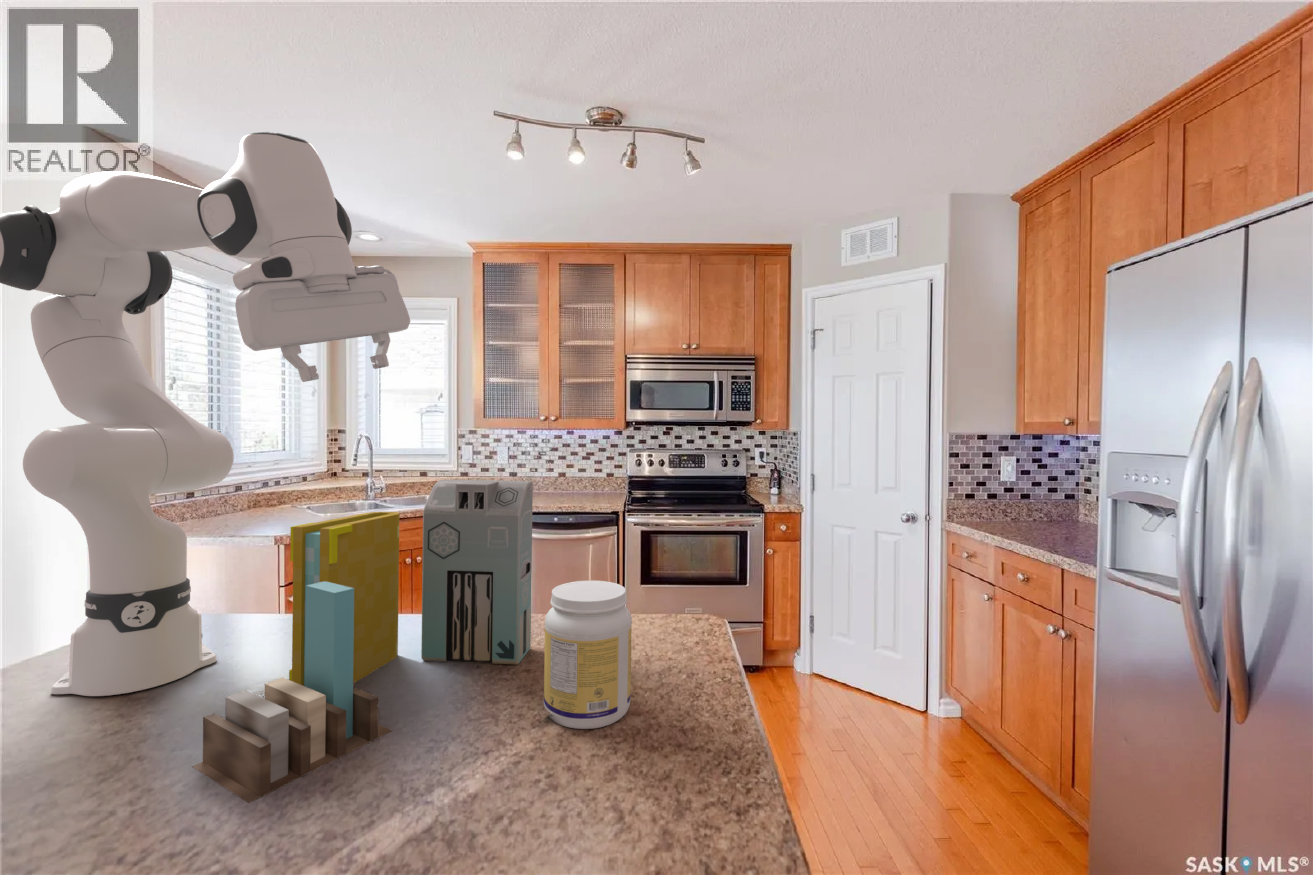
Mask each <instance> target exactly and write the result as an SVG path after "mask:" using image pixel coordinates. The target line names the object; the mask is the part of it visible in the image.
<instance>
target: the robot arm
mask: <svg viewBox="0 0 1313 875" xmlns="http://www.w3.org/2000/svg"><path fill="white" fill-rule="evenodd" d="M239 142H240V143H239V153H238V157H237V159H236V162H235V163H234V165H233V166H232V167H231V168H230V169H229V171H228V172H227V173H226V174H225V175H224V176H223V177H222V178H221V179H217V180H214V181H212V182H211V183H209V184H208V185H207V186H206V187H205V188H204V189H202V188H199V187H195V186H191V185H187V184H184V183H180V182H176V181H172V180H170V179H166V178H162V177H159V176H154V175H150V174H146V173H139V172H134V171H121V170H119V171H117V170H116V171H114V170H113V171H112V170H111V171H110V170H109V171H101V172H93V173H90V174H85V175H83V176H80V177H77V178H75V179H73V180H71V181H70V182H69V183H67V184H66V185H65V186H64V187H63V189H62V190H61V193H60V197H59V206H58V208H57V209H56V210H54V211H50V212H47V211H42V210H41V209H40V208H39V207H37V206H35V205H25V207H23V208H22V210H20V211H13V212H11V211H10V212H6V213H5V212H3V213H1V214H0V284H3V285H5V286H9V287H11V288H12V287H13V288H15V289H18V290H19V289H20V290H22V291H23V290H24V291H27V292H28V291H33V290H34V291H38V292H43V293H48V294H52V295H49V296H46V297H44V298H42V299H41V300H40V301H38V302H37V303H36V304H35V305H34V307H32V309H31V311H30V325H31V331H32V336H33V340H34V344H35V348H36V350H37V354H38V356H39V358H40V361H41V363H42V365H43V367H44V369H45V372H46V374H47V376H48V378H49V380H50V383H51V385H52V387H53V390H54V391H55V393H56V395H57V397H58V400H59V402H60V403H61V405H62V406H63V407H64V409H65V410H67V411H68V412H69V413H70V414H72V415H73V416H76V417H77V418H79V419H82V420H84V421H86V422H88V423H82V424H74V425H68V426H67V425H66V426H62V427H56V428H49V429H46V430H43V431H41V432H40V433H38V435H36V436H35V437H34V438H33V439H32V440H31V441H30V443H29V444H28V446H27V447H26V449H25V452H24V453H23V454H24V455H23V458H22V471H23V473H24V475H25V478H26V480H27V481H28V483H29V484H30V486H32V487H33V488H34V490H36V491H37V492H38V493H39V494H41V495H42V496H45V497H47V498H48V499H51V500H53V501H55V502H57V503H58V504H60V505H61V506H62V507H64V508H65V509H67V510H68V512H70V513H71V515H73V517H74V518H75V519H76V520H77V522H78V524H79V526H80V527H81V528H82V531H83V532H84V536H85V538H86V543H87V549H88V559H89V560H88V562H89V563H88V564H89V589H88V590H87V591H86V593H85V600H84V605H83V606H84V608H85V614H84V615H85V617H87V618H86V619H85V621H84V622H83V623H82V624H81V625H80V626H78V627H77V628H76V629H75V631H73V632H71V636H70V644H69V646H70V647H69V662H68V663H69V665H68V666H69V668H68V671H67V672H66V673H64V674H63V676H61V677H60V678H59V679H58V680H56V682H55V683H53V684H52V686H51V688H50V694H51V695H69V694H70V695H71V694H72V695H79V696H84V697H85V696H86V697H105V696H113V695H121V694H123V695H124V694H129V693H133V692H138V691H144V690H147V689H151V688H155V687H158V686H161V685H165V684H168V683H171V682H174V681H176V680H178V679H181V678H183V677H185V676H188V675H189V674H191V673H193V672H194V671H197V670H198V669H200V668H203V667H206V666H209V665H212V664H213V663H216V662H217V661H218V660H217V654H216V653H215V652H213V651H212V649H210V648H209V647H208V646H206V645H205V644H204V643H203V632H202V631H203V630H202V625H203V624H202V614H201V613H200V612H198V610H197V609H195V608H193V607H192V606H191V605H190V604H189V602H190V601H191V592H192V588H191V584H190V583H191V582H190V578H188V577H187V571H188V570H187V562H188V560H187V558H188V553H187V552H188V537H187V535H186V532H185V531H184V529H182V527H181V526H180V525H178V524H177V523H175V522H173V521H171V520H168V519H165V518H163V517H160V516H157V514H156V513H155V512H154V510H153V508H152V506H151V505H152V504H151V502H150V495H159V494H169V493H181V492H190V491H194V490H198V489H202V488H206V487H208V486H213V485H215V484H218V483H220V482H222V481H223V480H224V479H226V477H228V476H229V473H230V472H231V470H232V467H233V464H234V457H235V456H234V449H233V446H232V444H231V442H230V441H229V439H228V438H227V437H226V436H225V434H223V433H222V432H220V431H218V430H216V429H213V428H212V427H209V426H206V425H204V423H203V424H202V423H201V422H199V421H198V420H196V419H194V418H193V417H191V416H190V415H189V414H187V413H186V412H185V411H184V410H183V409H181V408H180V407H178V405H176V404H175V403H174V402H173V401H172V400H170V398H169V397H167V396H166V395H165V394H164V392H162V390H161V389H160V388H159V387H158V385H157V384H156V383H155V382H154V380H153V377H151V375H150V373H149V371H148V369H147V368H146V366H145V364H144V362H143V360H142V358H141V356H140V355H139V353H138V351H137V349H136V347H135V345H134V342H132V340H131V338H130V336H129V334H128V332H127V331H126V328H125V326H124V324H123V315H124V312H125V313H127V314H130V315H139V314H143V313H144V312H145V311H146V310H147V307H150V306H153V305H155V304H157V302H159V301H160V300H161V299H162V298H163V297H165V295H167V294H168V292H169V291H170V289H171V286H172V281H173V268H172V264H171V262H170V260H169V258H168V257H167V255H166V253H165V252H172V251H179V250H180V251H181V250H187V249H195V248H203V247H211V246H214V247H216V248H217V249H218V250H220V251H221V252H223V253H224V254H225V255H228V256H234V257H238V258H246V259H259V260H255V261H254V262H251V263H249V264H247V265H245V266H243V267H241V268H240V269H238V270H237V271H236V272H235V273H234V274H233V275H232V280H233V284H234V286H235V287H236V289H237V290H238V291H241V292H240V293H239V294H237V296H236V298H235V302H234V304H235V313H236V318H237V323H238V328H239V333H240V335H241V339H242V341H243V343H244V345H245V346H247V347H248V348H249V349H250V350H252V351H254V352H258V351H265V350H274V349H280V350H281V353H282V356H283V358H284V359H286V361H287V362H288V363H289V364H291V365H292V366H293V367H294V368H295V369H297V371H298V373H299V378H300V380H301V382H303V383H306V382H311V381H316V380H319V379H320V375H319V373H318V372H317V371H318V368H317V366H316V365H309V364H308V363H306V361H304V359H303V358H301V357H300V356H299V354H302V349H301V346H304V345H311V344H319V343H326V342H327V343H328V342H332V341H339V340H340V341H341V340H347V339H355V338H361V337H371V339H372V343H373V344H377V346H376V350H375V353H374V354H375V355H372V356H370V357H369V359H370V361H371V363H372V364H371V365H372V368H373V369H375V370H378V369H382V368H387V367H389V365H390V363H389V360H388V356H387V353H388V350H389V346H390V343H391V337H390V334H392V333H393V334H394V333H399V332H403V331H405V330H407V329H409V326H410V324H411V318H410V314H409V311H408V309H407V306H406V303H405V301H404V298H403V296H402V294H401V291H400V288H399V284H398V280H397V277H396V276H395V274H394V273H392V271H390V270H388V269H386V268H384V266H383V265H373V266H355V264H354V261H353V258H352V254H351V251H350V246H349V245H350V242H351V241H352V240H351V239H352V233H353V229H352V227H353V226H352V224H351V223H352V222H351V220H350V217H349V214H348V213H347V211H346V209H345V208H344V207H343V205H342V204H341V203H340V201H339V200H338V199H337V198H336V197H335V194H334V191H333V189H332V188H333V187H332V186H331V182H330V179H329V176H328V173H327V171H326V169H325V166H324V164H323V162H322V160H321V157H320V155H319V154H318V152H317V150H316V149H315V147H314V146H313V145H312V144H311V142H308V141H307V140H305V139H304V138H301V137H298V136H293V135H289V134H285V133H280V132H269V131H257V132H251V133H248V134H247V135H246V134H245V135H244V136H243V137H242V138H241V140H240V141H239Z"/></svg>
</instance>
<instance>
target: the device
mask: <svg viewBox="0 0 1313 875" xmlns="http://www.w3.org/2000/svg"><path fill="white" fill-rule="evenodd" d="M533 483H534V482H533V481H531V480H491V479H487V480H485V479H484V480H483V479H447V478H446V479H438V480H437V481H436V482H435V483H434V485H433V486H432V488H431V491H430V493H429V495H428V498H427V500H426V503H425V505H424V507H423V510H422V511H423V512H422V571H421V572H422V575H421V576H422V577H421V579H422V580H421V581H422V583H421V585H422V586H421V587H422V588H421V650H420V651H421V652H420V653H421V660H422V661H425V662H446V663H449V662H453V663H473V664H474V663H475V664H494V665H495V664H496V665H497V664H498V665H500V664H501V665H516V666H517V665H519V664H520V663H521V661H522V660H523V658H524V657H525V656H526V655H527V654H528V652H529V651H530V649H531V644H532V642H531V640H532V639H531V638H532V637H531V636H532V635H531V634H532V632H531V629H532V628H531V627H532V625H531V624H532V574H533V573H532V571H533V570H532V567H533V566H532V564H533V563H532V562H533V556H532V555H533V498H534V497H533V496H534V495H533V494H534V493H533V491H534V488H533V486H534V484H533ZM448 661H449V662H448Z"/></svg>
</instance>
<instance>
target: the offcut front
mask: <svg viewBox="0 0 1313 875" xmlns="http://www.w3.org/2000/svg"><path fill="white" fill-rule="evenodd" d="M224 715H225V718H224V719H226V720H228V721H230V722H232V723H233V724H235V725H237V726H239V727H241V728H243V729H245V730H247V731H249V732H251V733H252V734H254V735H256V736H258V737H260V738H262V739H264V740H266V741H268V742H270V743H271V782H270V783H272V782H274V781H276V780H278V779H280V778H282V777H284V776H286V775H288V732H289V710H288V709H286V708H284V707H281V706H279V705H277V704H275V703H273V702H270V701H268V700H266V699H264V698H263V697H262V696H259V695H257V694H256V693H253V692H250V691H248V690H246V689H245V690H242V691H239V692H236V693H233V694H231V695H228V696H225V714H224Z"/></svg>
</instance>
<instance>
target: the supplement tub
mask: <svg viewBox="0 0 1313 875" xmlns="http://www.w3.org/2000/svg"><path fill="white" fill-rule="evenodd" d="M627 602H628V599H627V594H626V588H625V586H623V585H621V584H619V583H615V582H611V581H606V580H577V581H571V582H567V583H565V582H564V583H562V584H559V585H557V586H555V587H553V588H552V590H551V599H550V605H551V608H550V609H549V610H548V611H547V613H546V616H545V619H544V669H543V670H544V672H543V673H544V674H543V676H544V677H543V706H544V708H545V710H546V711H547V712H548V713H550V714H549V715H548V718H549V719H550V720H552V722H554V723H556V724H558V725H560V726H564V727H567V728H570V729H571V728H572V729H576V730H578V729H579V730H580V729H581V730H589V729H590V730H591V729H598V728H603V727H606V726H609V725H612V724H614V723H616V722H617V721H619V720H621V719H622V718H623V717H624V716H625V715H626V714H627V711H628V710H629V708H630V705H631V699H632V696H631V695H632V694H631V690H632V689H631V686H632V684H631V683H632V681H631V679H632V631H633V630H632V625H633V620H632V614H631V612H630V610H629V609H628V607H627V606H626V604H627Z"/></svg>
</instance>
